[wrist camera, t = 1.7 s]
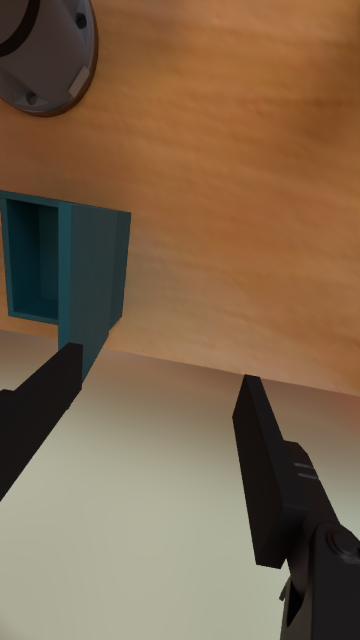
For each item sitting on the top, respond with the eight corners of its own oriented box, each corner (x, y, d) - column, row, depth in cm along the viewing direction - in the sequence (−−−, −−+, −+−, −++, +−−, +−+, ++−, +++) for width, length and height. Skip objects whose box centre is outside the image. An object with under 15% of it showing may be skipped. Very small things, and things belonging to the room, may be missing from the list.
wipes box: (39, 301, 42) (8, 316, 35) (36, 195, 37) (-2, 189, 30) (121, 316, 42) (106, 334, 35) (131, 212, 37) (115, 210, 30)
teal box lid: (58, 409, 21) (68, 410, 21) (57, 201, 16) (71, 203, 16) (102, 335, 35) (108, 335, 35) (110, 209, 29) (117, 210, 29)
